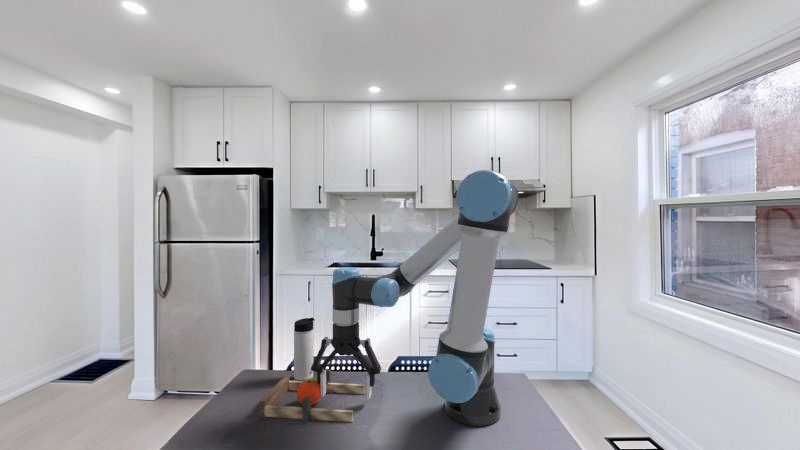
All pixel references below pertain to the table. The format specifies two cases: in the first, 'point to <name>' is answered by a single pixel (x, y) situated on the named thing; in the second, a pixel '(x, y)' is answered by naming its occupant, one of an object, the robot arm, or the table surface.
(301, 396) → the clementine
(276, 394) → the lane
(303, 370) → the travel mug
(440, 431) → the table surface
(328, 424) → the table surface
